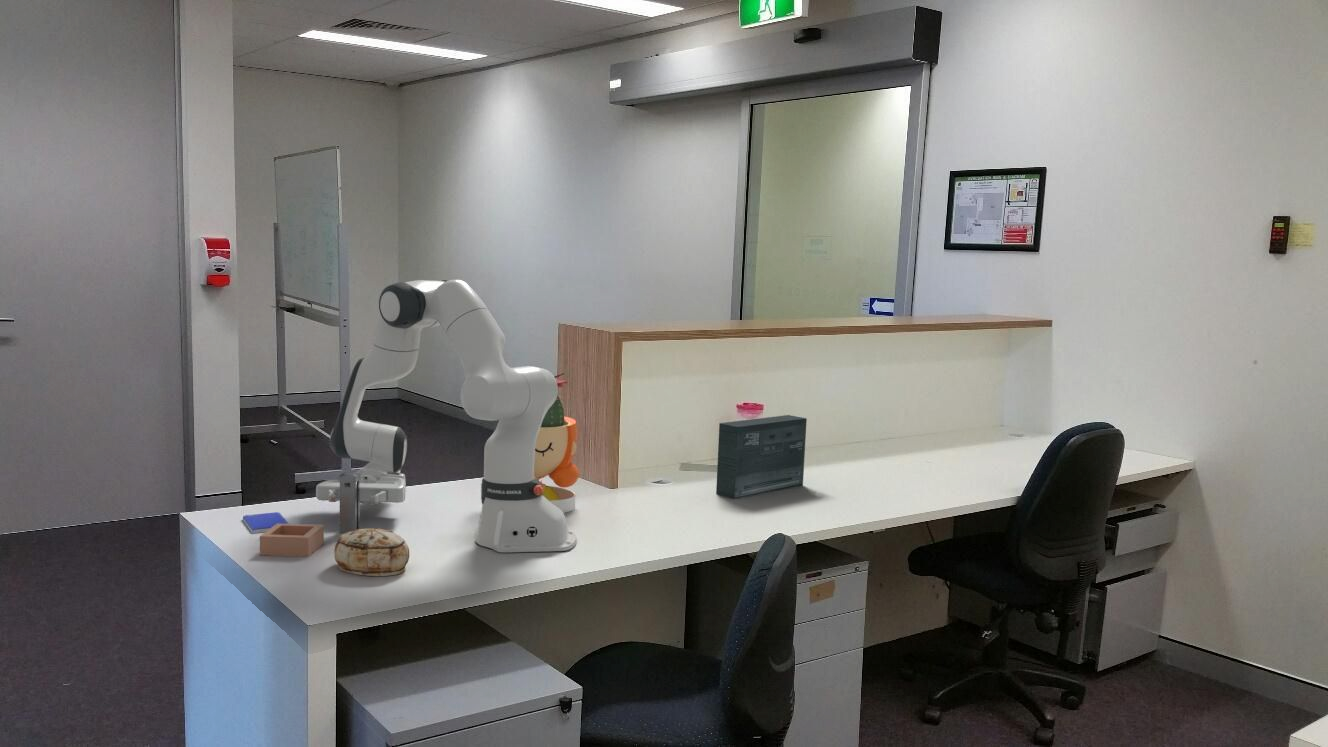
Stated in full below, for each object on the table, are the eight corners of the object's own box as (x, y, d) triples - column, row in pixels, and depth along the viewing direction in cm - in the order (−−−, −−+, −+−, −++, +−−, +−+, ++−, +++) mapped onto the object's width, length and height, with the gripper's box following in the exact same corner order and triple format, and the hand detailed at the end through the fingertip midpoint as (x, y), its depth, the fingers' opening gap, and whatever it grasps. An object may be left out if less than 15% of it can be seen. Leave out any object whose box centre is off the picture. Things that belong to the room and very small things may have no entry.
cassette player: (784, 481, 296) (788, 414, 294) (802, 486, 291) (806, 418, 289) (716, 494, 276) (719, 423, 274) (734, 499, 271) (737, 426, 269)
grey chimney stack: (360, 530, 227) (360, 473, 226) (355, 534, 223) (356, 476, 222) (343, 529, 227) (343, 472, 226) (338, 534, 223) (338, 476, 222)
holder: (323, 542, 216) (323, 524, 216) (308, 556, 206) (308, 537, 206) (277, 541, 216) (277, 523, 215) (259, 555, 206) (259, 536, 206)
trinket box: (406, 578, 195) (407, 539, 195) (327, 579, 193) (327, 540, 192) (412, 558, 209) (413, 521, 208) (338, 558, 206) (338, 521, 205)
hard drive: (242, 515, 232) (252, 528, 221) (279, 511, 236) (291, 524, 226) (242, 522, 232) (252, 535, 221) (279, 518, 236) (291, 531, 226)
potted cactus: (562, 517, 245) (566, 376, 241) (479, 508, 251) (482, 370, 246) (591, 498, 266) (595, 367, 262) (514, 489, 271) (517, 362, 267)
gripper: (325, 471, 239) (306, 484, 226) (411, 473, 240) (397, 487, 226) (325, 497, 240) (306, 511, 226) (411, 499, 241) (397, 514, 227)
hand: (352, 499), depth 226 cm, fingers open, 8 cm apart
